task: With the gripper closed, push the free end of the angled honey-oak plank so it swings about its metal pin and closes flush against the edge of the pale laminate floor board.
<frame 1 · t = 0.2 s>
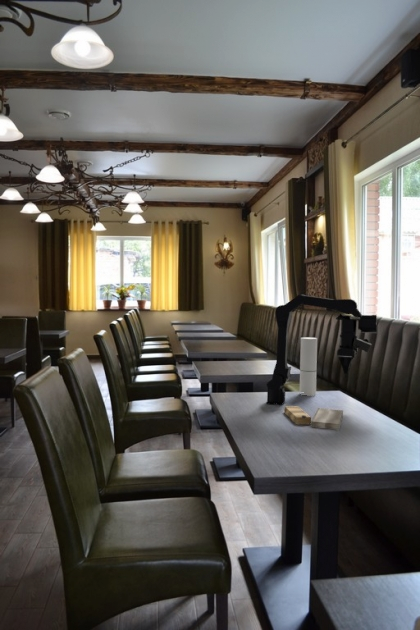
hand: (347, 372, 181), 14 cm above the table, fingers open, 9 cm apart
floor board: (327, 420, 165), on the table
cylindrical container: (307, 394, 208), on the table
plank: (297, 414, 167), point 1 cm above the table, hinge at 25.0°
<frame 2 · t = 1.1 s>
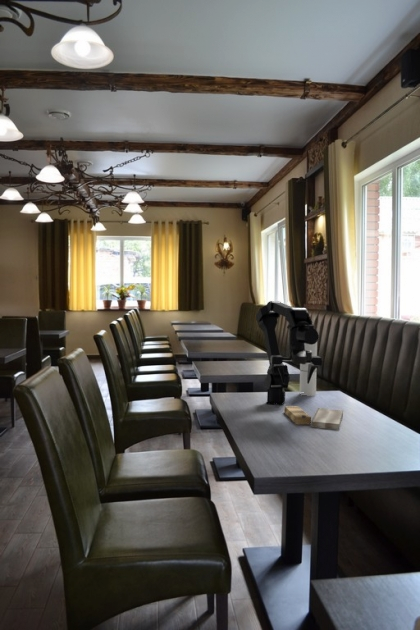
hand: (295, 383, 176), 11 cm above the table, fingers open, 9 cm apart
nothing on the table moved.
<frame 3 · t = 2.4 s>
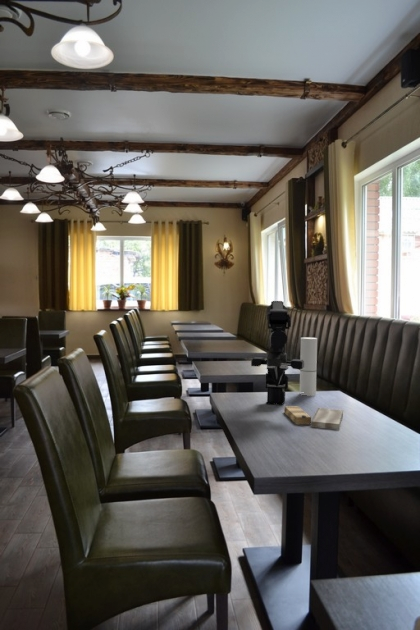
hand: (277, 386, 174), 10 cm above the table, fingers closed
nothing on the table moved.
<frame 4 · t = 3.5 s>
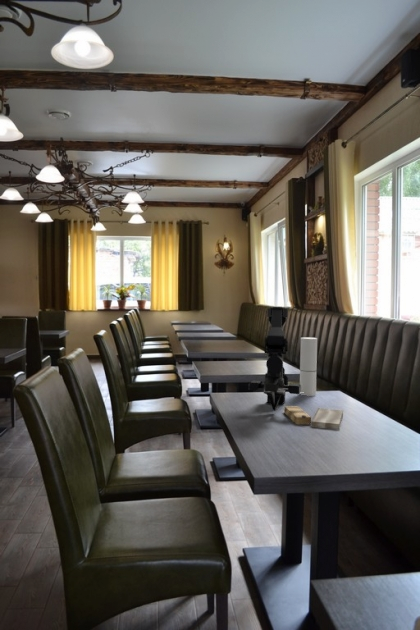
hand: (274, 410, 174), 1 cm above the table, fingers closed
nothing on the table moved.
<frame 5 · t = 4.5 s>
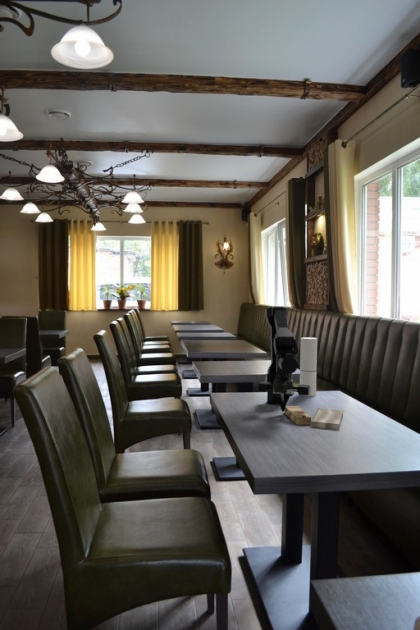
hand: (283, 411, 172), 1 cm above the table, fingers closed
plank: (297, 414, 167), point 1 cm above the table, hinge at 24.8°, touching gripper
everything else where it was.
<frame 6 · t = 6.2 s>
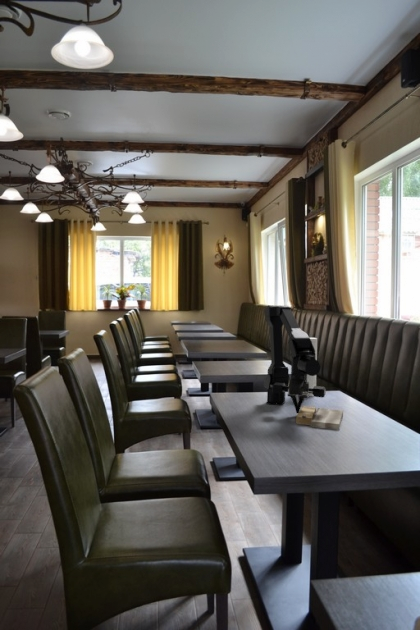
hand: (297, 413, 171), 1 cm above the table, fingers closed
plank: (306, 414, 167), point 1 cm above the table, hinge at 1.1°, touching gripper
everything else where it was.
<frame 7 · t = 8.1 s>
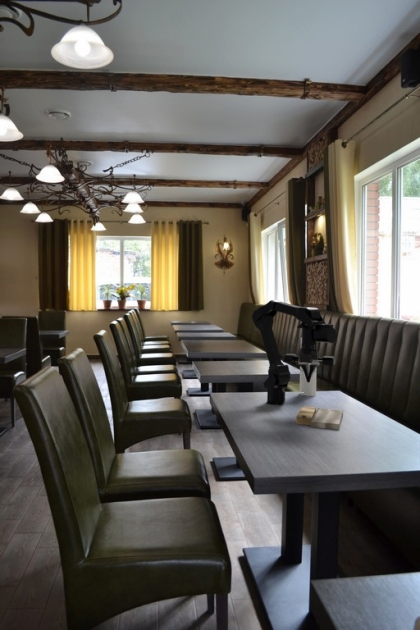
hand: (308, 382, 177), 11 cm above the table, fingers closed
plank: (306, 414, 167), point 1 cm above the table, hinge at 1.1°
everything else where it was.
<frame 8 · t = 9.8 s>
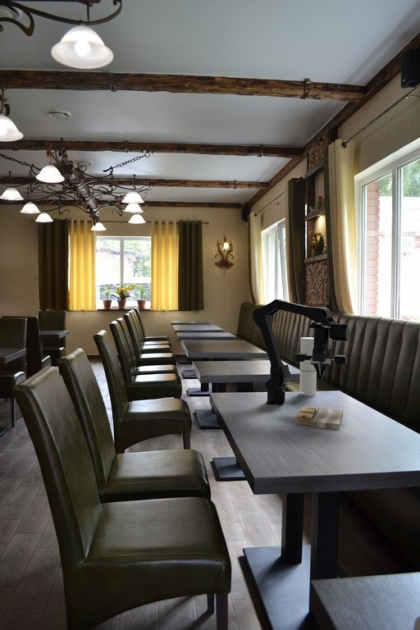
hand: (320, 380, 181), 11 cm above the table, fingers closed
nothing on the table moved.
at the end: plank at +1° (first picture: +25°) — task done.
